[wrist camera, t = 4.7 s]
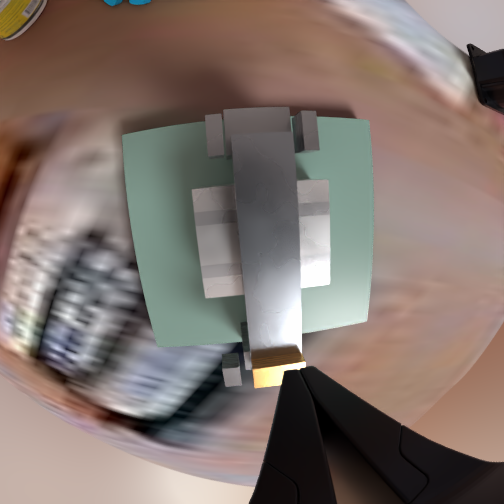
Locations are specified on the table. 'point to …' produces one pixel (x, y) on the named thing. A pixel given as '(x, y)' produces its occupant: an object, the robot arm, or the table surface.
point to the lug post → (237, 360)
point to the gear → (135, 0)
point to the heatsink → (227, 238)
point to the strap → (269, 251)
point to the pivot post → (261, 128)
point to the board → (185, 237)
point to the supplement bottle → (18, 16)
